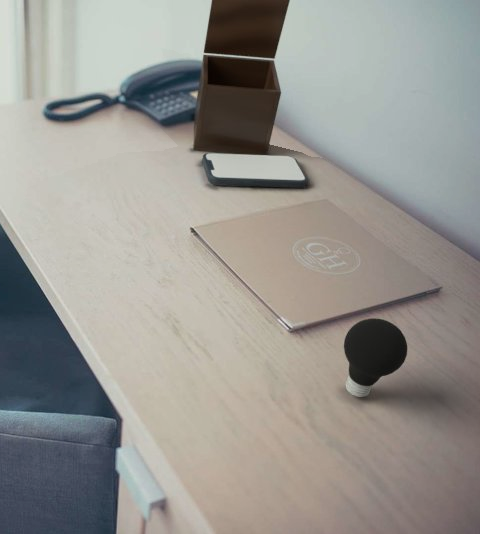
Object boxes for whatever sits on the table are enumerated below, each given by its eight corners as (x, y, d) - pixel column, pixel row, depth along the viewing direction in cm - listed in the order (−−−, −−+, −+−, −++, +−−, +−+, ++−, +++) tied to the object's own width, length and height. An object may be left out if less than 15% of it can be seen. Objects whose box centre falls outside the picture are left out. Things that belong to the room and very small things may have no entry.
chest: (266, 157, 111) (281, 92, 104) (193, 150, 112) (202, 85, 105) (260, 120, 123) (274, 60, 115) (194, 114, 124) (203, 54, 117)
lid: (296, -26, 103) (293, -53, 108) (217, -31, 104) (218, -58, 110) (274, 58, 115) (273, 30, 120) (203, 53, 116) (205, 25, 122)
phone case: (292, 163, 110) (200, 160, 110) (294, 155, 109) (201, 151, 109) (307, 190, 103) (209, 187, 103) (310, 182, 102) (210, 178, 102)
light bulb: (347, 420, 67) (377, 352, 60) (316, 379, 71) (341, 312, 65) (395, 408, 68) (429, 341, 62) (361, 368, 72) (390, 302, 66)
